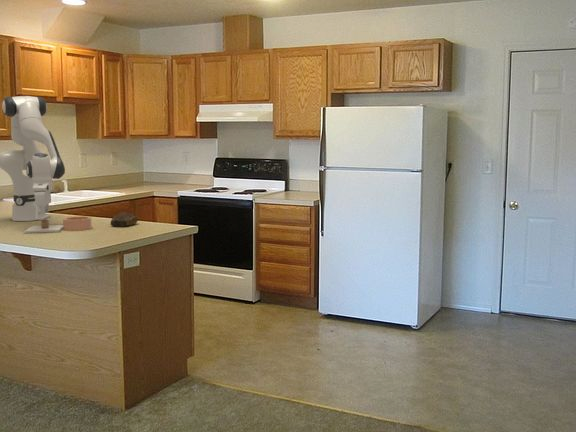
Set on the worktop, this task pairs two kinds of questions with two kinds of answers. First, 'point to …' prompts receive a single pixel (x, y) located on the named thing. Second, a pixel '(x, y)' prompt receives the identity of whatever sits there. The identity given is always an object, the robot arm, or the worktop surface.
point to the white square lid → (44, 228)
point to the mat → (46, 232)
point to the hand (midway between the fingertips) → (44, 213)
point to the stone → (123, 220)
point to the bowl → (77, 223)
